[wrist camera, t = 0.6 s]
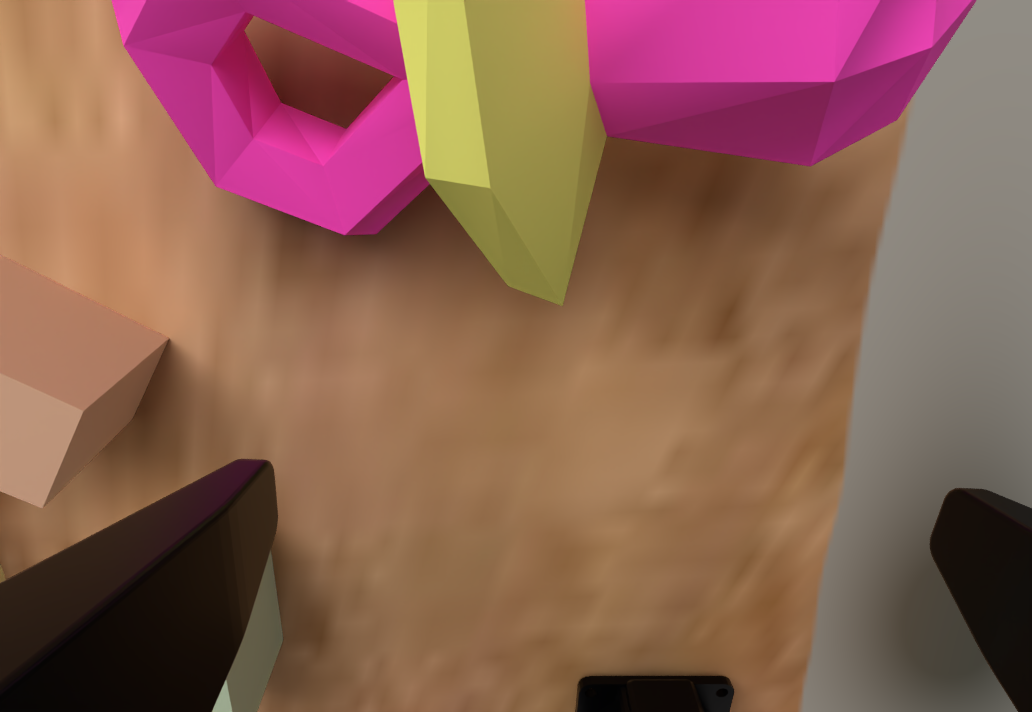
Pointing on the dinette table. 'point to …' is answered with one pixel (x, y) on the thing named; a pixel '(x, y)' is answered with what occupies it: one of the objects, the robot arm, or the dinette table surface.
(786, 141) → the toy
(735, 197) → the dinette table surface
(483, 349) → the dinette table surface
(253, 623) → the green brick
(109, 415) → the terracotta brick
